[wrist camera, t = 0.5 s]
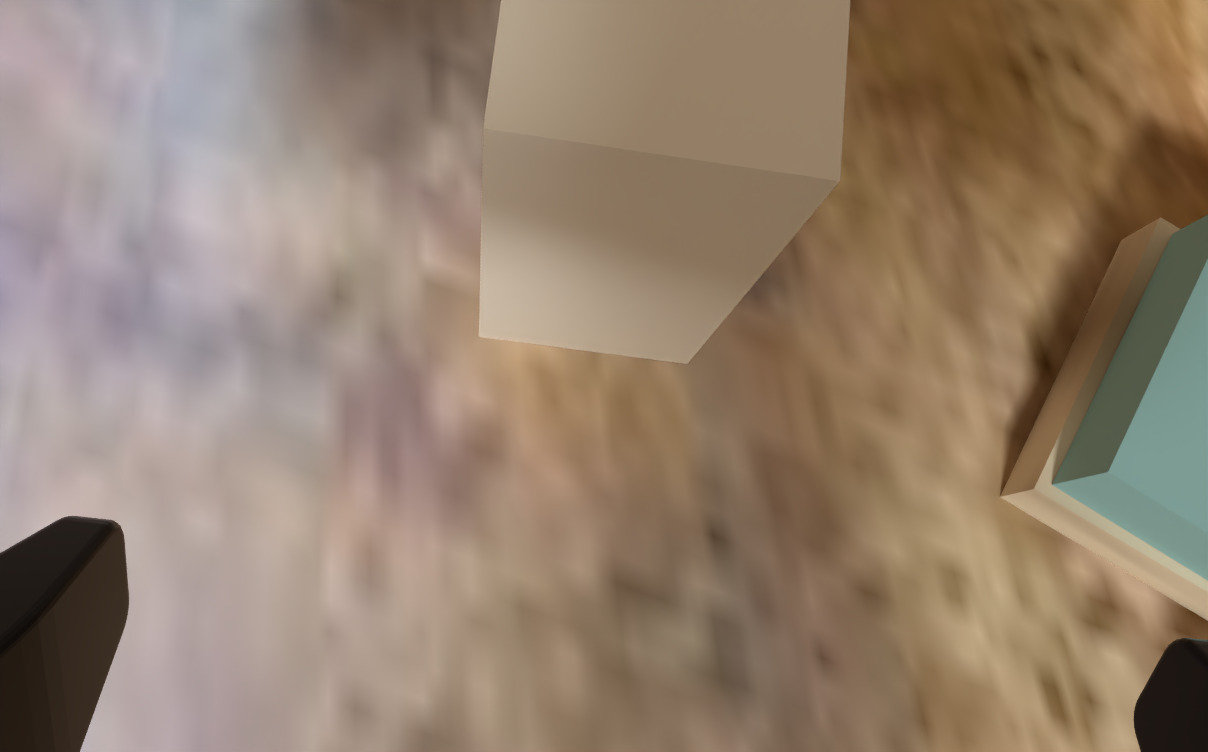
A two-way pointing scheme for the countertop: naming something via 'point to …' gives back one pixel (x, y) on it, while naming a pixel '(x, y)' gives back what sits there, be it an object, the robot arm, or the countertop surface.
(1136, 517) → the teal square slab
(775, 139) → the cream column
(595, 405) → the countertop surface
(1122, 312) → the tower base
